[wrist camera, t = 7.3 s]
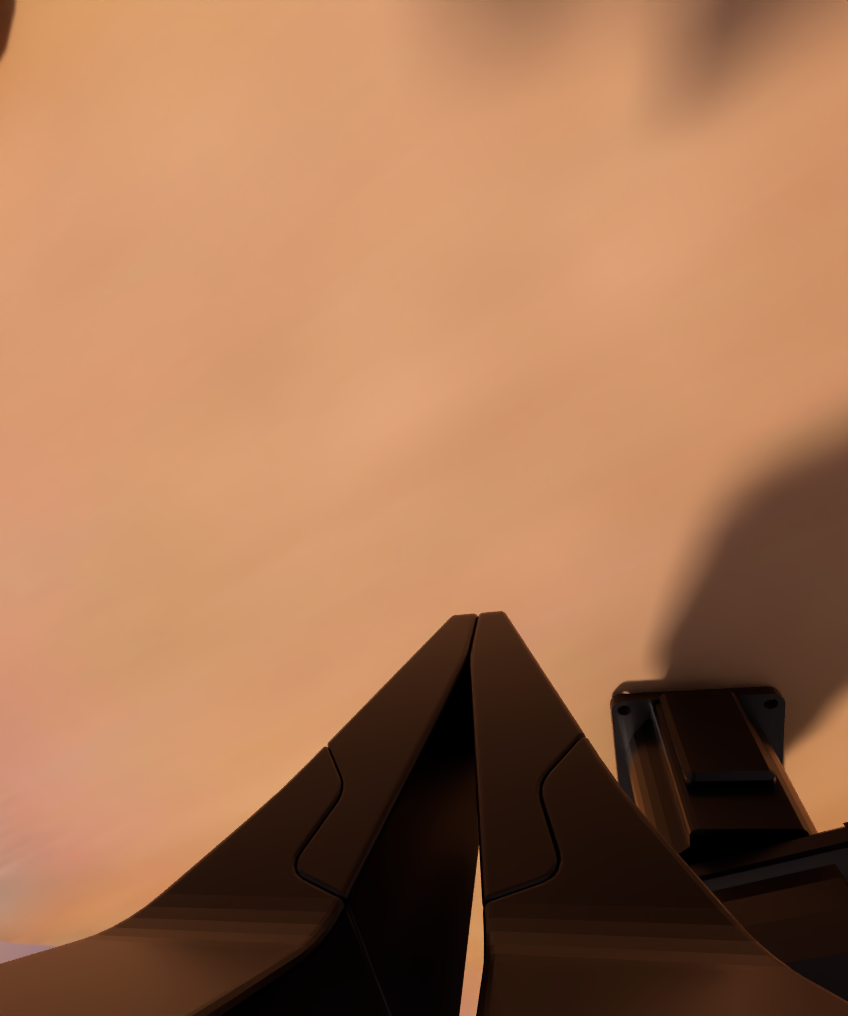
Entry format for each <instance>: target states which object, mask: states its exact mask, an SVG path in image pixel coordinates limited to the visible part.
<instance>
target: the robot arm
mask: <svg viewBox="0 0 848 1016" xmlns="http://www.w3.org/2000/svg"><path fill="white" fill-rule="evenodd" d="M768 699H772V700H771V701H768V702H765V701H766V700H768ZM620 706H627V707H626V708H619V707H620ZM610 709H611V719H612V729H613V739H614V749H615V759H616V769H617V779H618V782H617V781H616V779H615V778H614V776H613V775H612V774H611V772H610V771H609V769H608V768H607V767H606V765H605V764H604V762H603V761H602V760H601V758H600V757H599V755H598V754H597V752H596V751H595V749H594V747H593V746H592V744H591V743H590V741H589V740H588V739H587V738H585V734H584V733H583V731H582V730H581V728H580V727H579V725H578V724H577V722H576V720H575V719H574V717H573V716H572V714H571V713H570V711H569V710H568V708H567V707H566V705H565V704H564V702H563V701H562V699H561V697H560V696H559V694H558V693H557V691H556V690H555V688H554V687H553V685H552V684H551V682H550V681H549V679H548V678H547V676H546V675H545V673H544V671H543V670H542V668H541V667H540V665H539V664H538V662H537V661H536V659H535V658H534V656H533V655H532V653H531V652H530V650H529V649H528V647H527V645H526V644H525V642H524V641H523V639H522V638H521V636H520V635H519V633H518V632H517V630H516V629H515V627H514V626H513V624H512V623H511V621H510V619H509V618H508V616H507V615H506V614H505V613H504V612H502V611H498V612H487V613H481V614H480V615H479V616H477V615H476V614H464V615H454V616H452V617H451V618H450V619H449V620H448V621H447V622H446V623H445V624H444V625H443V626H442V627H441V628H440V629H439V630H438V631H437V632H436V633H435V634H434V635H433V636H432V637H431V638H430V639H429V640H428V641H427V642H426V643H425V644H424V645H423V646H422V647H421V648H420V649H419V650H418V651H417V652H416V653H415V654H414V655H413V656H412V658H411V659H410V660H409V661H408V662H407V663H406V664H405V665H404V666H403V667H402V668H401V669H400V670H399V671H398V672H397V673H396V674H395V675H394V676H393V677H392V678H391V679H390V680H389V681H388V682H387V683H386V684H385V685H384V686H383V687H382V688H381V689H380V690H379V691H378V692H377V693H376V694H375V695H374V696H373V697H372V698H371V699H370V700H369V702H368V703H367V704H366V705H365V706H364V707H363V708H362V709H361V710H360V711H359V712H358V713H357V714H356V715H355V716H354V717H353V718H352V719H351V720H350V721H349V722H348V723H347V724H346V725H345V726H344V727H343V728H342V729H341V730H340V731H339V732H338V733H337V734H336V735H335V736H334V737H333V738H332V739H331V740H330V741H329V742H328V747H323V748H322V749H321V750H320V751H319V752H318V753H317V754H316V755H315V756H314V758H313V759H312V760H311V761H310V762H309V763H308V764H307V765H306V766H305V767H304V768H303V769H302V770H300V771H299V772H298V773H297V774H296V775H295V776H294V777H293V778H292V779H291V780H290V781H289V782H288V783H287V784H286V785H285V786H284V787H283V788H282V789H281V790H280V791H279V792H278V793H277V794H276V795H274V796H273V797H272V798H271V799H270V800H269V801H268V802H267V803H266V804H264V805H263V806H262V807H261V808H260V809H259V810H258V811H257V812H255V813H254V814H253V815H252V816H251V817H250V818H249V819H248V820H247V821H245V822H244V823H243V824H242V825H241V826H240V827H238V828H237V829H236V830H235V831H234V832H233V833H231V834H230V835H229V836H228V837H227V838H226V839H224V840H223V841H222V842H221V843H220V844H219V845H217V846H216V847H215V848H214V849H213V850H212V851H211V852H209V853H208V854H207V855H206V856H205V857H204V858H202V859H201V860H200V861H199V862H198V863H197V864H195V865H194V866H193V867H192V868H191V869H190V870H188V871H187V872H186V873H185V874H184V875H183V876H181V877H180V878H179V879H178V880H177V881H176V882H175V883H173V884H172V885H171V886H170V887H169V888H168V889H166V890H165V891H164V892H163V893H162V894H160V895H159V896H158V897H157V898H155V899H154V900H153V901H152V902H150V903H149V904H148V905H147V906H145V907H144V908H143V909H141V910H140V911H138V912H137V913H135V914H134V915H132V916H131V917H129V918H128V919H126V920H124V921H122V922H120V923H119V924H117V925H115V926H113V927H111V928H109V929H107V930H105V931H102V932H100V933H98V934H96V935H93V936H90V937H88V938H85V939H82V940H79V941H75V942H72V943H69V944H65V945H62V946H59V947H55V948H52V949H49V950H45V951H42V952H38V953H35V954H32V955H29V956H25V957H22V958H19V959H15V960H12V961H8V962H5V963H1V964H0V1016H459V1013H460V1005H461V996H462V987H463V979H464V970H465V961H466V953H467V944H468V935H469V927H470V918H471V909H472V901H473V892H474V883H475V875H476V866H477V857H478V849H479V851H480V869H481V887H482V904H483V924H484V965H483V973H482V980H481V987H480V993H479V1000H478V1007H477V1014H476V1016H848V822H846V823H843V824H844V827H840V828H836V829H832V830H828V831H824V832H820V833H818V832H817V830H816V828H815V826H814V824H813V823H812V821H811V819H810V817H809V815H808V813H807V811H806V809H805V808H804V806H803V804H802V802H801V800H800V798H799V796H798V794H797V792H796V791H795V789H794V787H793V785H792V783H791V781H790V779H789V777H788V775H787V774H786V772H785V770H784V768H783V766H782V761H783V739H784V717H785V701H784V698H783V697H782V695H781V693H780V692H779V691H778V690H777V689H775V688H773V687H753V688H733V689H713V690H694V691H674V692H655V693H635V694H620V695H616V696H615V697H613V698H612V699H611V701H610Z"/></svg>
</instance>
